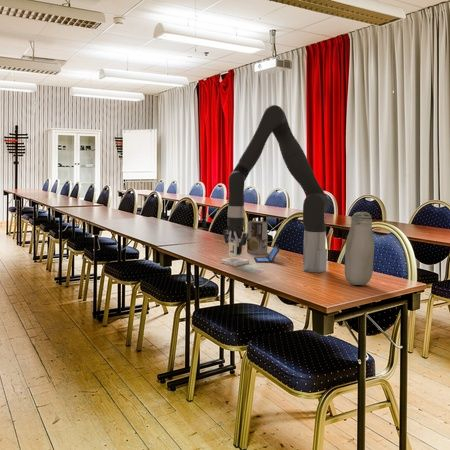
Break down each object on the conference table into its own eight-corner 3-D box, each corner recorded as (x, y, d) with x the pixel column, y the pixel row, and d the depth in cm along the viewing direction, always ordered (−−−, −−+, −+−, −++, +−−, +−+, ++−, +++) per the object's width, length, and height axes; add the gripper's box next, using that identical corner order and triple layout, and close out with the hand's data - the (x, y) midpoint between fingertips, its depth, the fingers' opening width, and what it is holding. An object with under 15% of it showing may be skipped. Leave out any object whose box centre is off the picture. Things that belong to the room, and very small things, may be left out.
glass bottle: (360, 289, 178) (364, 213, 175) (338, 284, 186) (342, 211, 183) (377, 286, 184) (381, 212, 181) (355, 280, 192) (359, 210, 189)
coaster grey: (264, 272, 204) (264, 271, 204) (255, 274, 200) (255, 273, 200) (253, 270, 208) (253, 269, 208) (244, 272, 204) (244, 271, 204)
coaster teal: (254, 269, 210) (254, 267, 210) (245, 271, 206) (245, 270, 206) (243, 267, 214) (243, 265, 214) (234, 269, 210) (234, 267, 210)
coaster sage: (264, 267, 214) (264, 266, 214) (256, 269, 210) (256, 268, 209) (254, 265, 218) (254, 264, 218) (245, 267, 214) (245, 266, 213)
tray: (248, 264, 221) (249, 260, 220) (235, 267, 214) (235, 262, 214) (234, 261, 227) (234, 257, 226) (220, 264, 220) (220, 259, 220)
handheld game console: (253, 259, 234) (253, 244, 233) (275, 259, 234) (276, 244, 233) (255, 264, 222) (256, 248, 221) (279, 264, 222) (279, 248, 221)
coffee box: (267, 252, 251) (268, 221, 249) (261, 254, 246) (262, 222, 244) (252, 250, 256) (253, 220, 254) (246, 252, 251) (247, 221, 249)
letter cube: (241, 255, 220) (241, 242, 219) (235, 256, 217) (235, 243, 216) (234, 254, 223) (234, 241, 222) (228, 255, 220) (228, 242, 219)
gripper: (253, 216, 216) (252, 255, 218) (229, 214, 225) (228, 250, 227) (242, 218, 210) (241, 257, 212) (218, 215, 220) (217, 252, 222)
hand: (234, 253), depth 220 cm, fingers closed on letter cube, 4 cm apart
